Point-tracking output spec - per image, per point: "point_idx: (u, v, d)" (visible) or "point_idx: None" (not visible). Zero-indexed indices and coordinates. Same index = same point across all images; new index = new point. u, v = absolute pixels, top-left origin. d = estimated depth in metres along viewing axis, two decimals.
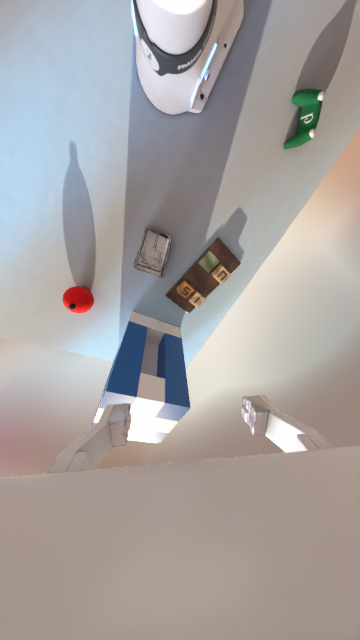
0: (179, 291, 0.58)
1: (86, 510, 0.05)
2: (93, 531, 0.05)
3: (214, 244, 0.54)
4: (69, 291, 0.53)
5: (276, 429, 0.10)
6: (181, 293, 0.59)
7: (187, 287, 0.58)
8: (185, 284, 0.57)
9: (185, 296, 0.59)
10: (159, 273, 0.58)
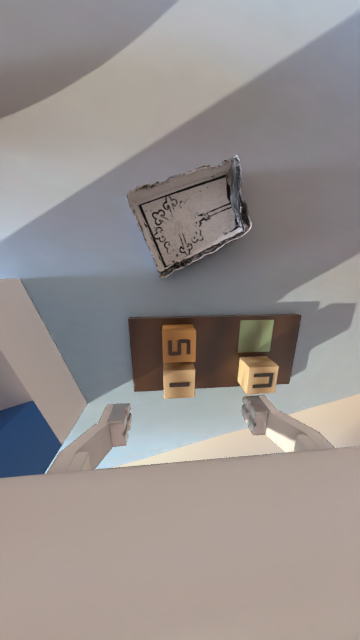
0: (167, 336, 0.21)
1: (86, 510, 0.05)
2: (93, 531, 0.05)
3: (288, 318, 0.26)
4: None
5: (276, 429, 0.10)
6: (166, 343, 0.22)
7: (190, 344, 0.22)
8: (192, 334, 0.22)
9: (167, 357, 0.22)
10: (161, 268, 0.23)
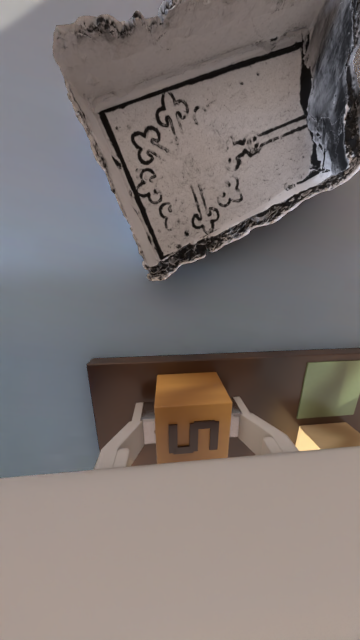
0: (166, 416, 0.09)
1: (86, 510, 0.05)
2: (93, 531, 0.05)
3: None
4: None
5: (247, 431, 0.10)
6: (165, 431, 0.09)
7: (218, 430, 0.10)
8: (223, 409, 0.09)
9: (167, 456, 0.10)
10: (154, 260, 0.11)
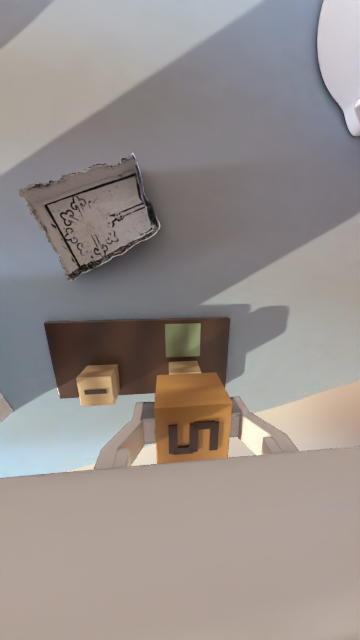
0: (166, 416, 0.09)
1: (86, 510, 0.05)
2: (93, 531, 0.05)
3: (216, 321, 0.25)
4: None
5: (247, 431, 0.10)
6: (165, 432, 0.09)
7: (217, 430, 0.10)
8: (223, 410, 0.09)
9: (167, 457, 0.10)
10: (75, 270, 0.22)
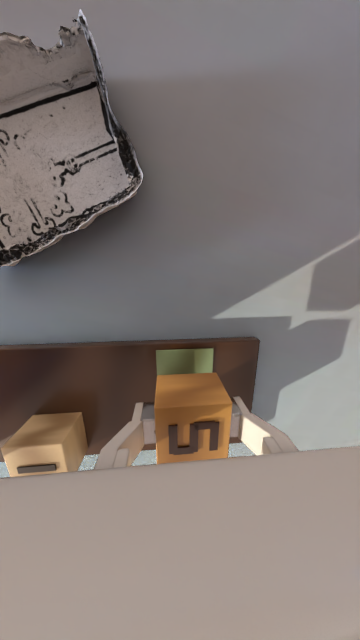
0: (166, 416, 0.09)
1: (86, 510, 0.05)
2: (93, 531, 0.05)
3: (237, 345, 0.15)
4: None
5: (247, 431, 0.10)
6: (165, 432, 0.09)
7: (218, 430, 0.10)
8: (223, 410, 0.09)
9: (167, 457, 0.10)
10: None
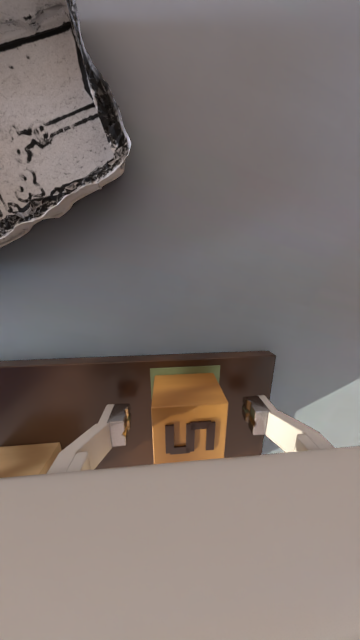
0: (163, 416, 0.09)
1: (86, 510, 0.05)
2: (93, 531, 0.05)
3: (249, 361, 0.13)
4: None
5: (276, 429, 0.10)
6: (161, 431, 0.10)
7: (214, 430, 0.10)
8: (219, 410, 0.10)
9: (163, 456, 0.10)
10: None
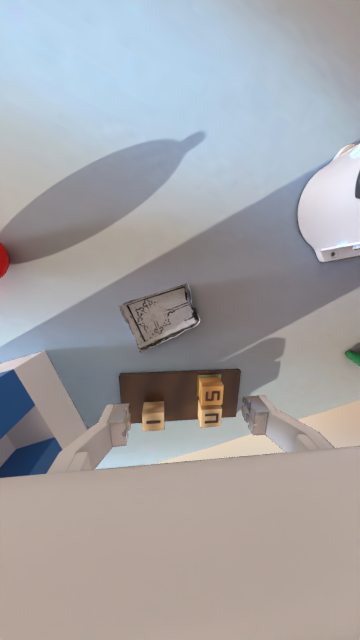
0: (205, 389, 0.33)
1: (86, 510, 0.05)
2: (93, 531, 0.05)
3: (231, 373, 0.37)
4: None
5: (276, 429, 0.10)
6: (204, 394, 0.33)
7: (219, 394, 0.34)
8: (221, 388, 0.33)
9: (204, 402, 0.34)
10: (142, 343, 0.34)
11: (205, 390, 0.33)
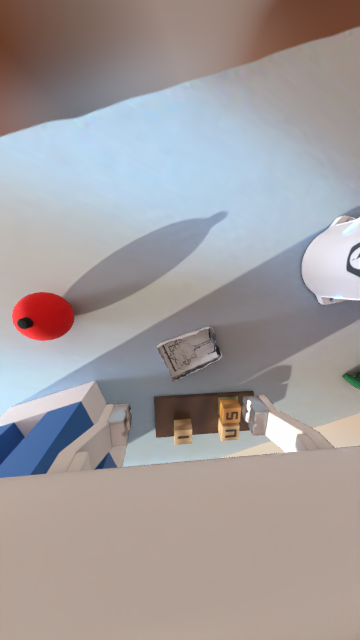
0: (226, 410, 0.40)
1: (86, 510, 0.05)
2: (93, 531, 0.05)
3: (246, 395, 0.44)
4: (48, 300, 0.29)
5: (276, 429, 0.10)
6: (225, 414, 0.41)
7: (237, 414, 0.41)
8: (239, 409, 0.41)
9: (225, 420, 0.41)
10: (173, 372, 0.41)
11: (226, 411, 0.40)
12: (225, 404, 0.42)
